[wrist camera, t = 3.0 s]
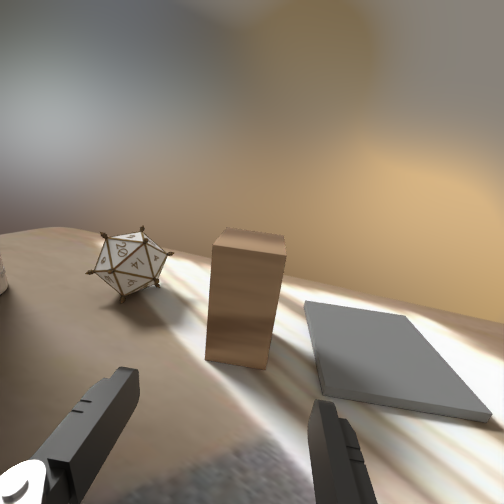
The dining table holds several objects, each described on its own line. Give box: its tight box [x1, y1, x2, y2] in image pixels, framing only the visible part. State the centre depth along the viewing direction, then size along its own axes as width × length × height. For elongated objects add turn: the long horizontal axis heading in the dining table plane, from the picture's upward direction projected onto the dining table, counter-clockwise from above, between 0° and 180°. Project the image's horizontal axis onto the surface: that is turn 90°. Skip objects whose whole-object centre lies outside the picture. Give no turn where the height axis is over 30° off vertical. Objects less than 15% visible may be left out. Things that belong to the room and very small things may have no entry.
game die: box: [85, 226, 174, 304], centre depth 29 cm, size 9×8×10 cm
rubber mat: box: [304, 301, 492, 423], centre depth 25 cm, size 13×13×1 cm
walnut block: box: [205, 227, 287, 370], centre depth 22 cm, size 6×6×11 cm
